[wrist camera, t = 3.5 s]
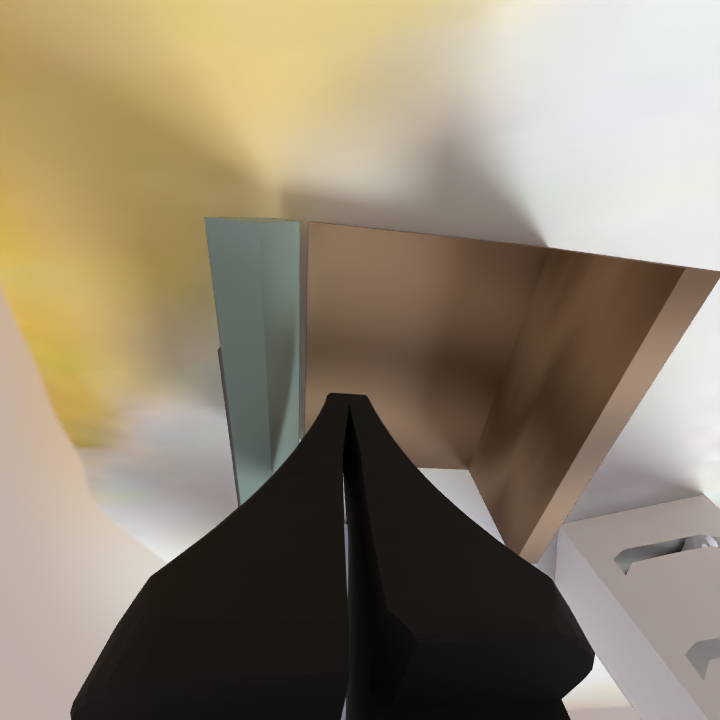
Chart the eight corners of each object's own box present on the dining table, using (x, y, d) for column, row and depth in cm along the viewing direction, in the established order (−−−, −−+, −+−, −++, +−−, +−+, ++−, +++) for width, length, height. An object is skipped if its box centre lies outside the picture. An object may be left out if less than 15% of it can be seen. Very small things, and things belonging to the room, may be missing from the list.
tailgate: (298, 463, 16) (276, 575, 11) (274, 462, 16) (241, 575, 11) (300, 220, 10) (258, 223, 5) (263, 217, 10) (187, 215, 5)
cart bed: (474, 451, 18) (536, 563, 12) (307, 444, 17) (287, 561, 11) (549, 247, 13) (723, 272, 7) (312, 221, 12) (280, 224, 6)
